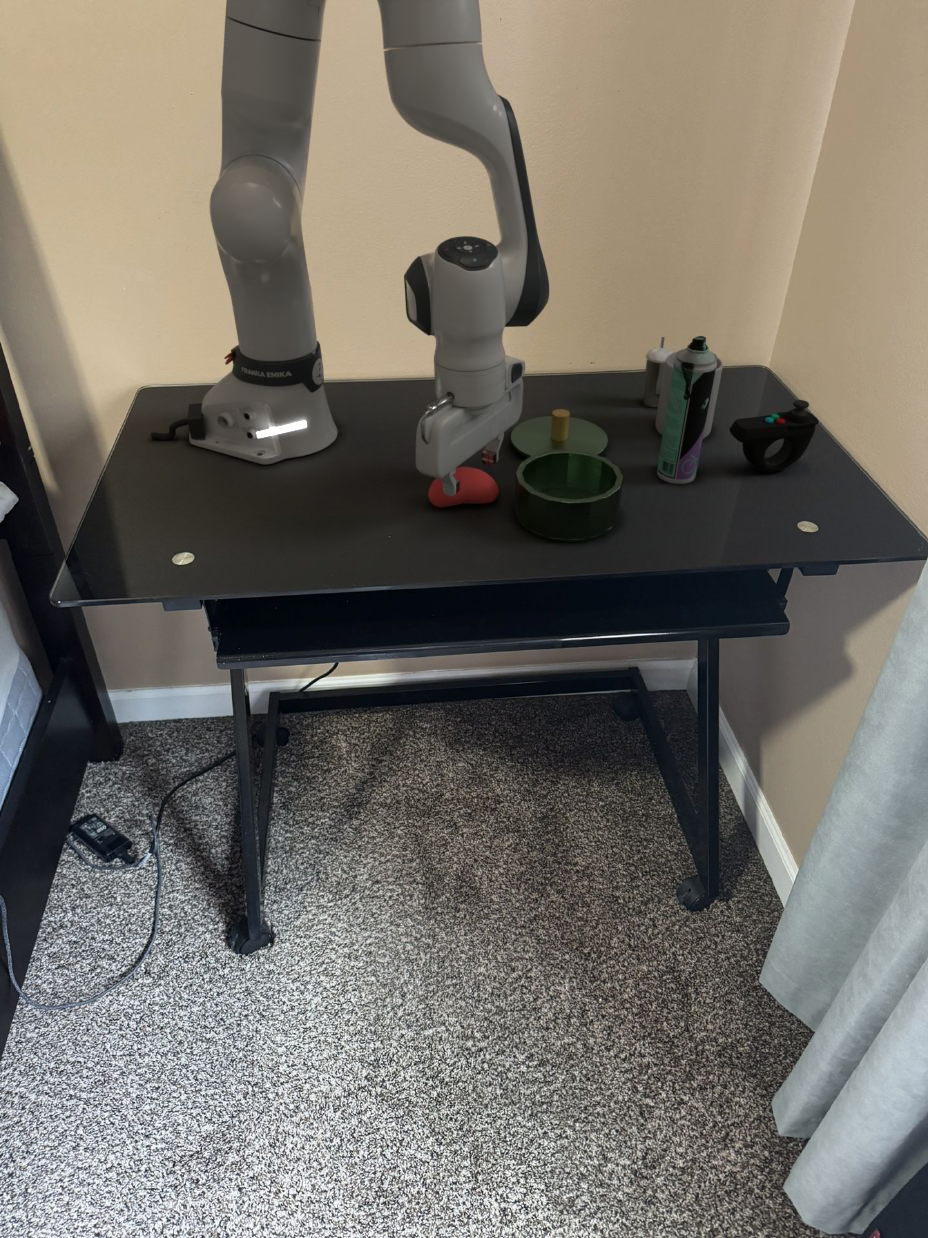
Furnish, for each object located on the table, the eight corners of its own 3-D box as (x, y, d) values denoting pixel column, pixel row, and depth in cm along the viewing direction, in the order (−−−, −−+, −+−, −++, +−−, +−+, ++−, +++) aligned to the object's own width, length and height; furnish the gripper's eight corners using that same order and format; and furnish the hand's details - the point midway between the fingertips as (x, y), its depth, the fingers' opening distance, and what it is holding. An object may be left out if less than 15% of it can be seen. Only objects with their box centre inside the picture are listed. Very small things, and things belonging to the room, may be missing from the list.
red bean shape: (438, 496, 124) (421, 469, 118) (498, 476, 121) (483, 448, 116) (442, 525, 121) (424, 499, 116) (503, 505, 119) (487, 478, 113)
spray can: (695, 485, 123) (722, 347, 111) (656, 481, 124) (677, 343, 111) (695, 467, 127) (720, 331, 115) (657, 463, 128) (678, 328, 116)
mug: (650, 416, 140) (660, 349, 133) (703, 416, 140) (716, 349, 133) (664, 452, 131) (675, 383, 124) (721, 452, 131) (736, 382, 124)
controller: (810, 471, 126) (828, 407, 120) (731, 481, 124) (745, 416, 118) (794, 457, 129) (811, 394, 123) (717, 467, 127) (730, 403, 121)
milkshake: (668, 396, 146) (677, 337, 139) (667, 410, 142) (676, 350, 135) (641, 394, 147) (649, 335, 140) (638, 407, 142) (646, 348, 136)
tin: (504, 533, 114) (505, 492, 110) (528, 482, 124) (530, 443, 120) (608, 549, 111) (613, 509, 107) (624, 496, 121) (629, 457, 117)
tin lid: (499, 460, 129) (500, 428, 126) (522, 417, 140) (524, 386, 137) (598, 474, 126) (601, 441, 122) (614, 429, 137) (617, 398, 133)
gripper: (443, 417, 101) (447, 519, 110) (532, 357, 114) (529, 452, 123) (399, 405, 104) (406, 505, 113) (491, 348, 117) (491, 441, 126)
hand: (471, 477), depth 118 cm, fingers open, 8 cm apart
